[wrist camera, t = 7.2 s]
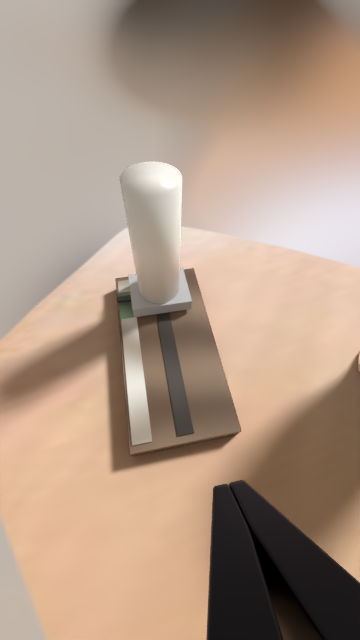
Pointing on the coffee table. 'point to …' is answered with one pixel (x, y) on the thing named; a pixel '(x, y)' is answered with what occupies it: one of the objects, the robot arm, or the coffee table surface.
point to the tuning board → (173, 376)
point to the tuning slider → (155, 238)
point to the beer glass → (359, 362)
